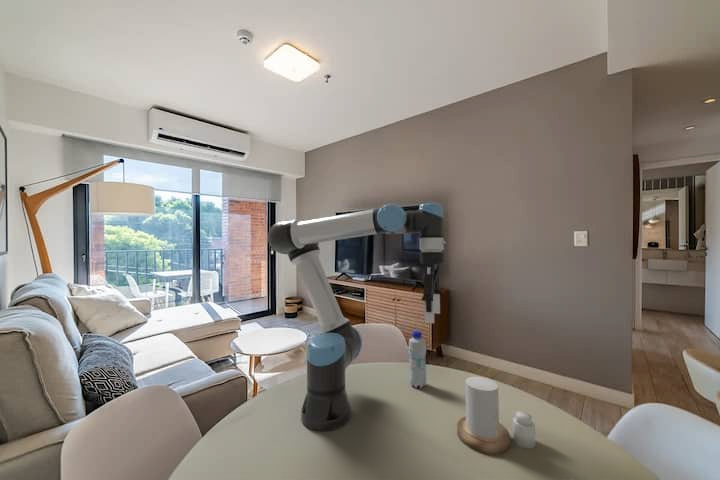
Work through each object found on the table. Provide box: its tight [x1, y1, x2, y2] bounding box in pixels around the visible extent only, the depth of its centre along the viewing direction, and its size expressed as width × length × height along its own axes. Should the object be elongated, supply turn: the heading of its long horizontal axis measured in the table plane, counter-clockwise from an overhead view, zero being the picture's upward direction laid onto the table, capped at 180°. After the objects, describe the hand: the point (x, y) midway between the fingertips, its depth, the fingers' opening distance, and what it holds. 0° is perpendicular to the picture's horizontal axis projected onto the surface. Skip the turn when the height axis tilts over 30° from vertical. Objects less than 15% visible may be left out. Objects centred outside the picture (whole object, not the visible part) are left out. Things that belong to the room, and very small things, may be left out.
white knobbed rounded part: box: [512, 410, 536, 450], centre depth 75 cm, size 5×5×7 cm
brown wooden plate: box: [456, 416, 511, 455], centre depth 77 cm, size 13×13×2 cm
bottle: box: [407, 330, 427, 389], centre depth 107 cm, size 7×7×20 cm
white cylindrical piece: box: [465, 376, 500, 439], centre depth 77 cm, size 8×8×12 cm
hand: (432, 317), depth 91 cm, fingers open, 13 cm apart
